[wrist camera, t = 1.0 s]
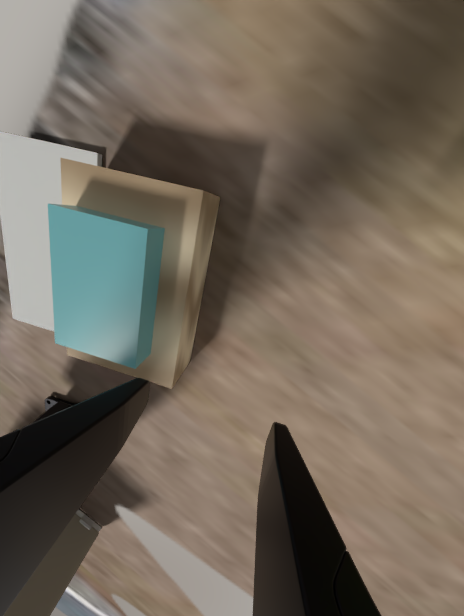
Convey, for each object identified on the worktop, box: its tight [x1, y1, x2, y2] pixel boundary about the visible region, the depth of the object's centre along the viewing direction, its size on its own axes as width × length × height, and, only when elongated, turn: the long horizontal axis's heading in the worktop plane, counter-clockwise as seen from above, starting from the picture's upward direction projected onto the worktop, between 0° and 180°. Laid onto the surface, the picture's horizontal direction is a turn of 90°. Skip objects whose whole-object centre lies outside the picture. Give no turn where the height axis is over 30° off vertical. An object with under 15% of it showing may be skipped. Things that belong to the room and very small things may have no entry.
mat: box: [0, 131, 102, 331], centre depth 21 cm, size 16×9×1 cm, turn 168°
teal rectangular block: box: [48, 204, 165, 369], centre depth 16 cm, size 9×6×2 cm, turn 168°
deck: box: [60, 158, 220, 389], centre depth 18 cm, size 14×9×4 cm, turn 168°
